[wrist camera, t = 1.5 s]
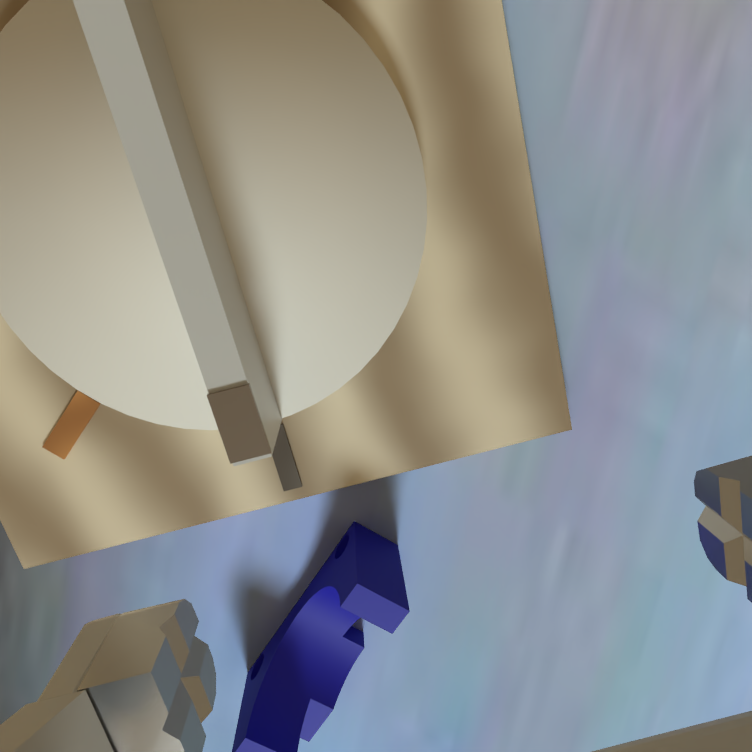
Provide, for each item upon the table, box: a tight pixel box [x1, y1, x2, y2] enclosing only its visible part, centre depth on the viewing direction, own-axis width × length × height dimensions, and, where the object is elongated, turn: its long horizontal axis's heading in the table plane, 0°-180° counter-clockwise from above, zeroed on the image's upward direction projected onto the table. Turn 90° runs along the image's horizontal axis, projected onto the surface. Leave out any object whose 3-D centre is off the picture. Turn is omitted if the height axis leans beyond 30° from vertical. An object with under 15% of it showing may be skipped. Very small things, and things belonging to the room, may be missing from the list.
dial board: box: [0, 0, 572, 569], centre depth 27 cm, size 30×30×2 cm
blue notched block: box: [232, 521, 409, 752], centre depth 32 cm, size 12×4×6 cm, turn 147°
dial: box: [0, 0, 427, 466], centre depth 24 cm, size 20×20×6 cm
